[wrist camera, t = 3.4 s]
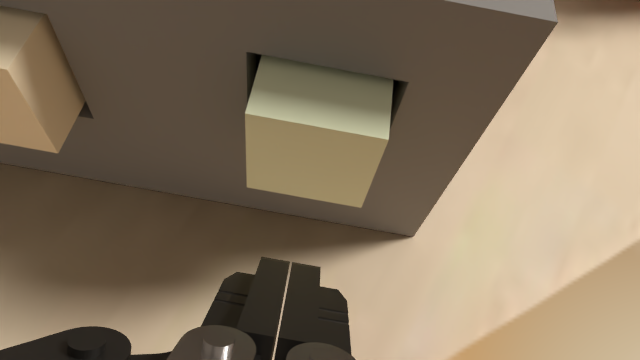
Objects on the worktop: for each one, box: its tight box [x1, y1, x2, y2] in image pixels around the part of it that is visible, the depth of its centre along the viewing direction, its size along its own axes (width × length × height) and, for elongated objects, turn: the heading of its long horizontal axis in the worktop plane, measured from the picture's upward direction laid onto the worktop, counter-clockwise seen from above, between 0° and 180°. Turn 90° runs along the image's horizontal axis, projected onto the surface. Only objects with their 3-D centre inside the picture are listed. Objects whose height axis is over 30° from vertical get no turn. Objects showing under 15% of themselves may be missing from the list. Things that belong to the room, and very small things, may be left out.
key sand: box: [0, 6, 86, 153], centre depth 16 cm, size 4×4×4 cm
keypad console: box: [0, 0, 558, 237], centre depth 18 cm, size 8×22×15 cm, turn 82°
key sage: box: [245, 55, 394, 208], centre depth 17 cm, size 4×4×4 cm
